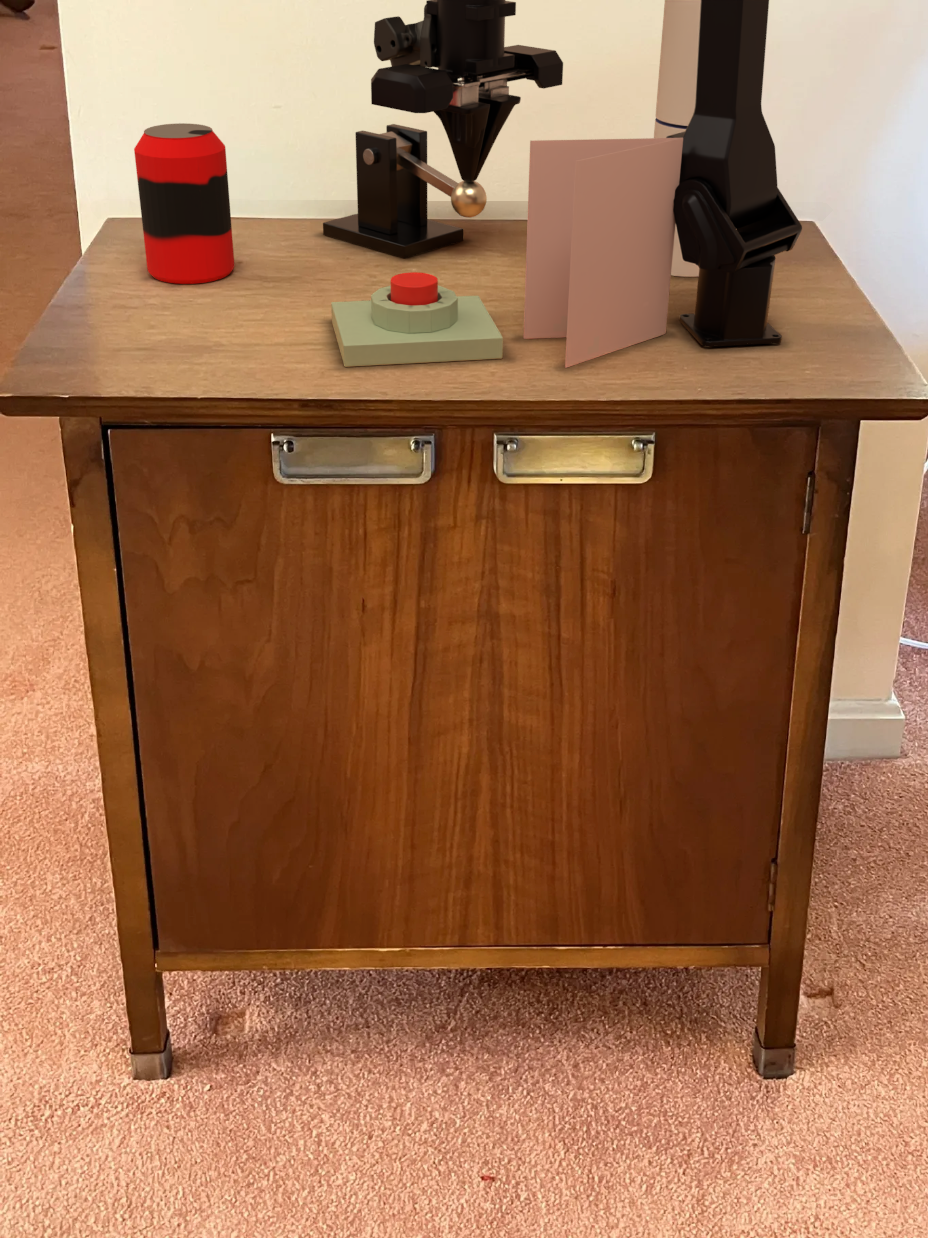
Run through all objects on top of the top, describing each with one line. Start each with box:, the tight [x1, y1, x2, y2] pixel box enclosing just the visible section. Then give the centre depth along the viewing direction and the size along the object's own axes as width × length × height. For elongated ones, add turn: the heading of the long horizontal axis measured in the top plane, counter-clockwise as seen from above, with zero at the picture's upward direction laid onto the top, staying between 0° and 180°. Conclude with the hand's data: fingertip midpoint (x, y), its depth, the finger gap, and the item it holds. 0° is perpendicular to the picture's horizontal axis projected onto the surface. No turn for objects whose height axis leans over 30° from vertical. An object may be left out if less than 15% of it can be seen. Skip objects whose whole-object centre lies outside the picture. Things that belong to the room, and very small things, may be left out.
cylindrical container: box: [653, 0, 701, 278], centre depth 118 cm, size 7×7×25 cm
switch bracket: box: [322, 123, 465, 260], centre depth 128 cm, size 11×8×10 cm
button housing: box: [330, 284, 504, 368], centre depth 106 cm, size 10×12×4 cm
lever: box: [380, 131, 488, 218], centre depth 124 cm, size 13×3×3 cm, turn 47°
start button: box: [390, 271, 439, 306], centre depth 104 cm, size 4×4×2 cm
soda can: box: [133, 122, 235, 285], centre depth 118 cm, size 8×8×12 cm
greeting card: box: [523, 137, 683, 369], centre depth 101 cm, size 11×7×15 cm, turn 97°
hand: (468, 180), depth 121 cm, fingers closed, pressing on lever
